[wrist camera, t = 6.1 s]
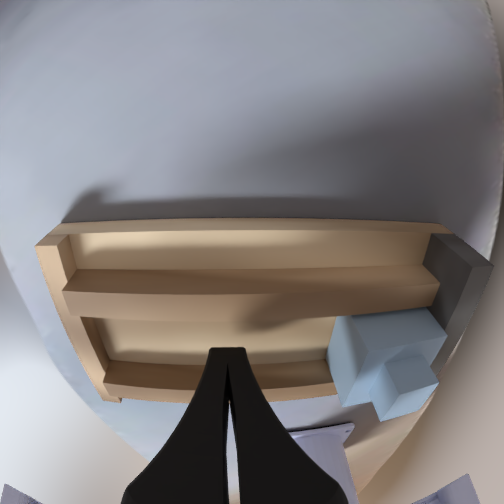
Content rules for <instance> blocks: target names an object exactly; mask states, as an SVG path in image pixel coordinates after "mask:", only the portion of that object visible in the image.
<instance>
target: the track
mask: <svg viewBox="0 0 504 504" xmlns="http://www.w3.org/2000/svg"><path fill="white" fill-rule="evenodd" d="M35 249H36V253H37V256H38V259H39V263H40V266H41V269H42V272H43V275H44V278H45V281H46V283H47V286H48V289H49V292H50V294H51V297H52V300H53V302H54V305H55V307H56V310H57V312H58V314H59V317H60V319H61V321H62V324H63V326H64V328H65V331H66V333H67V335H68V337H69V339H70V341H71V343H72V345H73V347H74V349H75V351H76V353H77V355H78V357H79V359H80V361H81V363H82V365H83V367H84V369H85V371H86V372H87V374H88V376H89V378H90V379H91V381H92V383H93V385H94V386H95V388H96V390H97V391H98V393H99V395H100V396H101V398H102V400H104V401H111V402H118V403H121V401H122V398H128V399H137V400H147V401H159V402H174V403H190V401H191V399H192V397H193V395H194V393H195V391H196V388H197V386H198V384H199V381H200V379H201V376H202V373H203V371H204V368H205V365H206V361H207V357H208V353H209V349H210V348H211V347H244V348H245V349H246V353H247V357H248V360H249V363H250V366H251V368H252V371H253V373H254V376H255V378H256V380H257V382H258V384H259V386H260V388H261V390H262V392H263V394H264V396H265V398H266V400H267V402H275V401H287V400H297V399H306V398H314V397H322V396H329V395H335V394H338V393H337V390H336V387H335V384H334V381H333V378H332V375H331V372H330V369H329V366H328V363H327V361H326V358H325V356H326V353H327V349H328V346H329V343H330V339H331V336H332V332H333V329H334V325H335V321H336V318H337V316H348V315H359V314H369V313H378V312H387V311H396V310H404V309H412V308H419V307H426V308H427V309H428V310H429V312H430V313H431V314H432V315H433V317H434V318H435V319H436V321H437V322H438V323H439V325H440V326H441V327H442V329H443V330H444V331H445V333H446V334H447V335H448V336H447V338H446V339H445V341H444V343H443V345H442V347H441V348H440V350H439V352H438V354H437V355H436V357H435V359H434V360H433V362H432V364H431V365H430V368H431V369H432V371H433V373H434V374H435V376H437V375H438V373H439V372H440V370H441V369H442V367H443V365H444V364H445V362H446V361H447V359H448V358H449V356H450V354H451V353H452V351H453V349H454V348H455V346H456V344H457V342H458V341H459V339H460V337H461V335H462V334H463V332H464V330H465V328H466V326H467V324H468V322H469V321H470V319H471V317H472V314H473V313H474V311H475V309H476V307H477V304H478V302H479V300H480V298H481V296H482V294H483V291H484V289H485V287H486V284H487V282H488V280H489V277H490V275H491V272H492V270H493V267H494V265H493V264H491V263H490V262H489V261H488V260H487V259H486V258H484V257H483V256H482V255H481V254H479V253H478V252H477V251H476V250H474V249H473V248H472V247H471V246H469V245H468V244H467V243H466V242H464V241H463V240H462V239H460V238H459V237H458V236H456V235H455V234H454V233H452V232H451V231H450V230H448V229H447V228H445V227H444V226H443V225H441V224H436V223H419V222H400V221H378V220H350V219H311V218H186V219H147V220H119V221H97V222H78V223H61V224H59V225H58V226H56V227H55V228H54V229H53V230H52V231H51V232H49V233H48V234H47V235H46V236H45V237H44V238H43V239H42V240H41V241H40V242H38V243H37V244H36V245H35ZM229 404H230V401H229Z"/></svg>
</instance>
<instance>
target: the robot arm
mask: <svg viewBox="0 0 504 504" xmlns="http://www.w3.org/2000/svg"><path fill="white" fill-rule="evenodd" d="M229 401H230V408H231V415H232V422H233V429H234V435H235V442H236V449H237V461H238V477H239V492H240V504H359V501H358V497H357V494H356V490H355V486H354V482H353V479H352V475H351V472H350V468H349V464H348V461H347V457H346V454H345V450H344V447H343V443H344V442H345V440H346V439H347V438H348V436H349V435H350V433H351V432H352V430H353V429H354V428H355V425H354V423H347V424H342V425H337V426H331V427H326V428H319V429H313V430H306V431H298V432H289V433H288V432H287V430H286V429H285V428H284V426H283V425H282V423H281V422H280V421H279V419H278V418H277V416H276V415H275V413H274V412H273V410H272V408H271V407H270V405H269V403H268V402H267V400H266V398H265V396H264V394H263V392H262V390H261V388H260V386H259V384H258V382H257V380H256V378H255V376H254V373H253V371H252V368H251V366H250V363H249V360H248V357H247V353H246V349H245V348H244V347H211V348H210V349H209V353H208V357H207V361H206V365H205V368H204V371H203V373H202V376H201V379H200V381H199V384H198V386H197V388H196V391H195V393H194V395H193V397H192V399H191V401H190V403H189V405H188V407H187V409H186V411H185V413H184V415H183V417H182V418H181V420H180V422H179V423H178V425H177V427H176V428H175V430H174V431H173V433H172V434H171V436H170V437H169V439H168V440H167V442H166V443H165V445H164V446H163V447H162V449H161V450H160V451H159V452H158V454H157V455H156V456H155V457H154V458H153V460H152V461H151V462H150V463H149V464H148V466H147V467H146V468H145V469H144V470H143V471H142V472H141V473H140V474H139V475H138V476H137V477H136V478H135V479H134V480H133V481H132V482H131V483H130V484H129V485H128V487H127V488H126V490H125V492H124V495H123V498H122V501H121V504H229V494H228V477H227V457H226V445H227V429H228V413H229ZM0 504H42V503H40V502H38V501H36V500H35V499H33V498H32V497H29V496H28V495H26V494H24V493H22V492H20V491H18V490H16V489H15V488H13V487H11V486H9V485H7V484H5V485H4V489H3V493H2V497H1V503H0ZM412 504H480V502H479V499H478V497H477V494H476V491H475V489H474V487H473V484H472V481H471V479H470V476H469V474H465V475H464V476H462V477H460V478H459V479H457V480H455V481H453V482H452V483H450V484H448V485H446V486H445V487H443V488H441V489H440V490H438V491H437V492H435V493H433V494H431V495H429V496H427V497H425V498H423V499H421V500H419V501H416V502H414V503H412Z"/></svg>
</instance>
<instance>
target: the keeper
mask: <svg viewBox="0 0 504 504" xmlns="http://www.w3.org/2000/svg"><path fill="white" fill-rule="evenodd" d="M447 336H448V335H447V334H446V333H445V331H444V330H443V329H442V327H441V326H440V325H439V323H438V322H437V321H436V319H435V318H434V317H433V315H432V314H431V313H430V312H429V310H428V309H427V308H426V307H419V308H412V309H404V310H396V311H387V312H378V313H369V314H359V315H348V316H337V318H336V321H335V325H334V329H333V332H332V336H331V339H330V343H329V346H328V349H327V353H326V356H325V358H326V361H327V363H328V366H329V369H330V372H331V375H332V378H333V381H334V384H335V387H336V390H337V393H338V396H339V399H340V402H341V405H342V407H347V406H352V405H357V404H362V403H367V402H371V401H372V402H373V405H374V407H375V410H376V412H377V415H378V417H379V420H380V422H381V421H385V420H388V419H392V418H395V417H399V416H402V415H405V414H408V413H411V412H415V411H418V410H419V409H420V408H421V406H422V405H423V404H424V403H425V401H426V400H427V399H428V397H429V396H430V395H431V393H432V392H433V391H434V389H435V388H436V387H437V385H438V384H439V381H438V379H437V378H436V376H435V374H434V373H433V371H432V369H431V368H430V365H431V364H432V362H433V360H434V359H435V357H436V355H437V354H438V352H439V350H440V348H441V347H442V345H443V343H444V341H445V339H446V338H447Z"/></svg>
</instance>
